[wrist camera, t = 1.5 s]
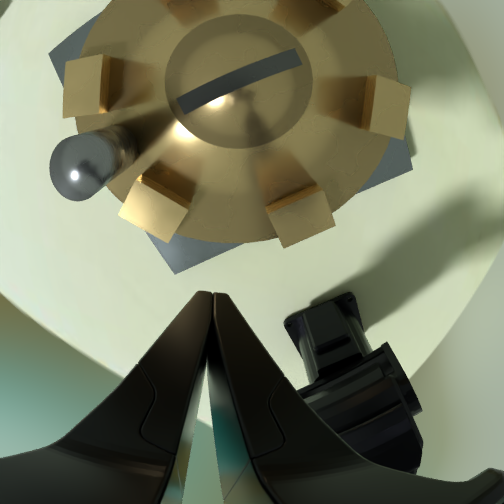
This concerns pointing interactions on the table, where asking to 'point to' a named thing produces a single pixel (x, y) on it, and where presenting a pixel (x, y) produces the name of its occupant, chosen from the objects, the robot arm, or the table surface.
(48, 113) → the table surface
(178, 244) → the base plate
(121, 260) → the table surface
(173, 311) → the table surface
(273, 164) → the ring nut
